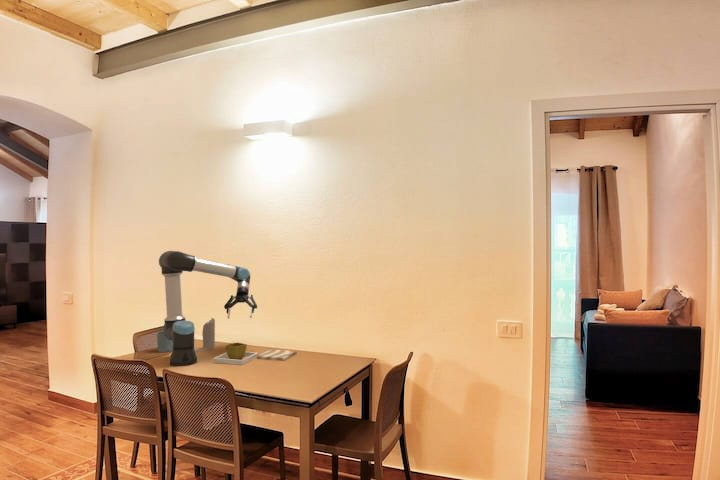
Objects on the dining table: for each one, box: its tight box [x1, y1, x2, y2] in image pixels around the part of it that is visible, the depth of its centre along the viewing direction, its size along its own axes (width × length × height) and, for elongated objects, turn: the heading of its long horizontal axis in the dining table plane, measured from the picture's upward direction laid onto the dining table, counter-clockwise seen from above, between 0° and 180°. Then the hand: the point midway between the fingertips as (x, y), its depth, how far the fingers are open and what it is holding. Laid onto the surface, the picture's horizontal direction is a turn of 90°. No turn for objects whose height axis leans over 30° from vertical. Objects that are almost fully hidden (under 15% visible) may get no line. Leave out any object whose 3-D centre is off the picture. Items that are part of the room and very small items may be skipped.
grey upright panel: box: [194, 317, 216, 352], centre depth 289 cm, size 7×14×20 cm, turn 107°
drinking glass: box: [156, 330, 173, 353], centre depth 286 cm, size 10×10×12 cm
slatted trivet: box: [256, 348, 298, 361], centre depth 272 cm, size 18×18×2 cm
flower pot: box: [225, 342, 247, 360], centre depth 264 cm, size 9×9×9 cm
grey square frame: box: [212, 351, 259, 366], centre depth 264 cm, size 19×19×2 cm
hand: (239, 317), depth 275 cm, fingers open, 13 cm apart
